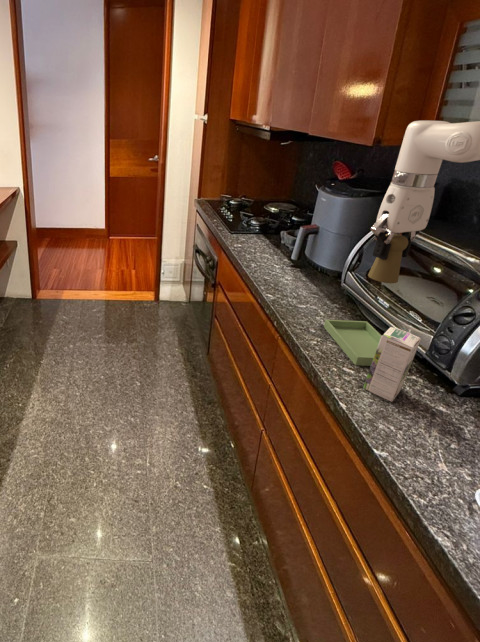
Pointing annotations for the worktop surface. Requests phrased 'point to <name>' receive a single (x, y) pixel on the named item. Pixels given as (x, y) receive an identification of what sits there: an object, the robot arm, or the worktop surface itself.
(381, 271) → the cork
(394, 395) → the syrup box
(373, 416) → the worktop surface
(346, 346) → the spice tray
